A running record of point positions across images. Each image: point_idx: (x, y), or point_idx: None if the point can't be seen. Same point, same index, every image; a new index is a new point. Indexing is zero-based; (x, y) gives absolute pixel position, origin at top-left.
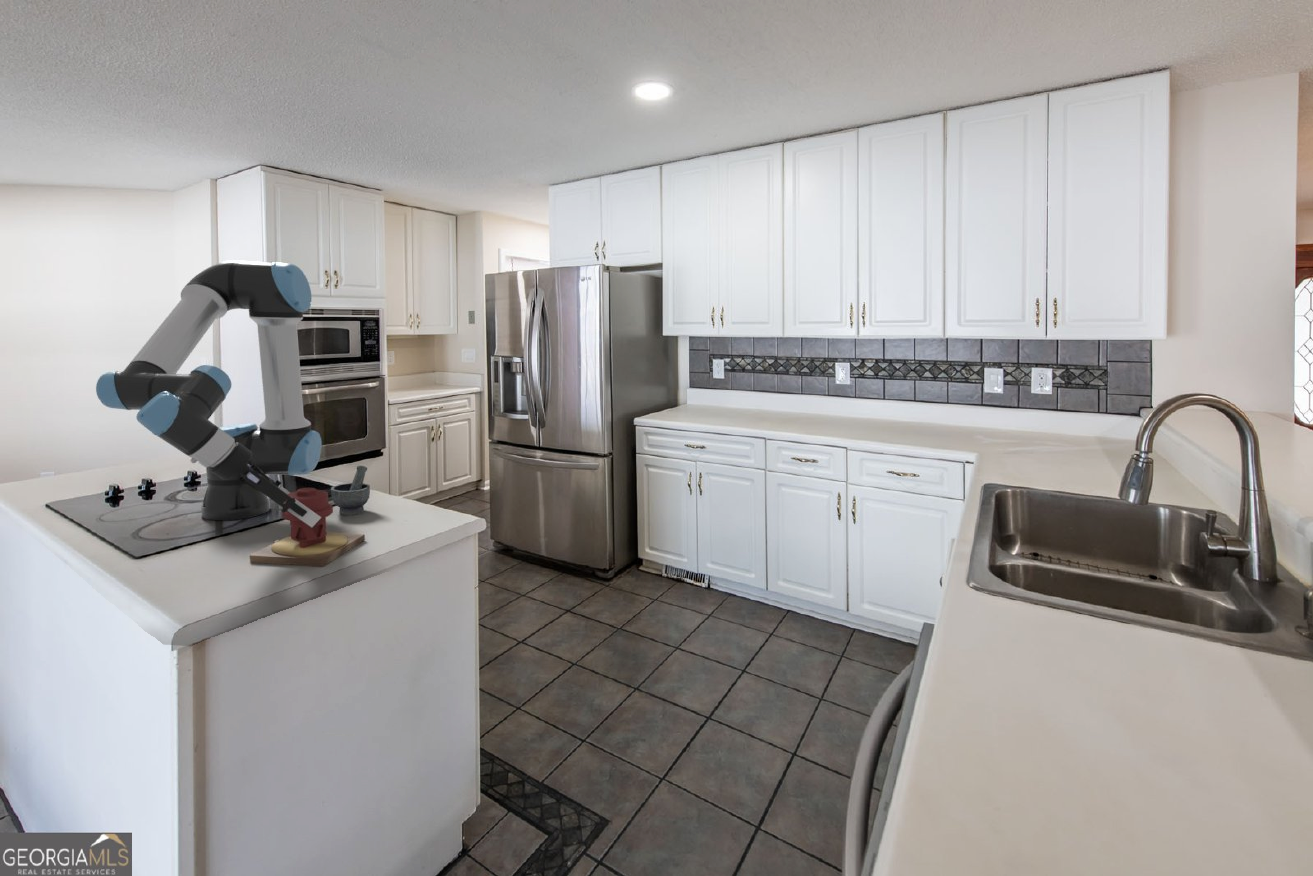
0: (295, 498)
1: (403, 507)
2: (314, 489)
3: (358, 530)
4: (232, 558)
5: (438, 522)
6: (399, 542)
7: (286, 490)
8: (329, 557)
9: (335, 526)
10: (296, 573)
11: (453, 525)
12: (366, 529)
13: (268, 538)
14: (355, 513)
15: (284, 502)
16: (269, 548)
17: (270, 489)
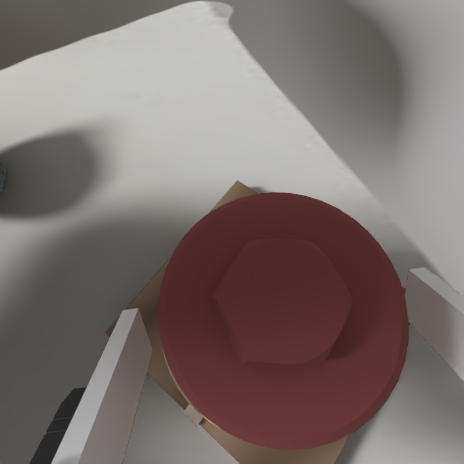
0: (381, 382)
1: (27, 86)
2: (298, 247)
3: (147, 191)
4: None
5: (183, 50)
6: (286, 129)
7: (97, 418)
8: None
9: (78, 235)
10: (446, 374)
11: (219, 33)
12: (150, 174)
13: None
14: (3, 178)
15: (132, 414)
16: (252, 445)
17: None
